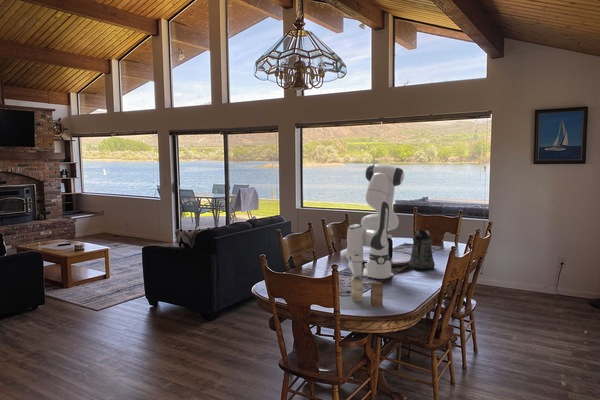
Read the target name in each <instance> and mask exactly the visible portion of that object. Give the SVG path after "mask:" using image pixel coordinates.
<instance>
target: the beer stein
mask: <svg viewBox="0 0 600 400" xmlns="http://www.w3.org/2000/svg"><path fill="white" fill-rule="evenodd" d="M412 241H413V242H412V248H411V254H410V260H409V261H408V265H409V269H411V270H413V271H416V272H423V273H424V272H432V271H434V269H435V261H434V258H433V257H434V256H433V250H432V241H433V238H432V236H431V235H429V234H428V233H427V231H425V230H419V231H418V232H417V233H416V234H415V235H413V236H412Z"/></svg>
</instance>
